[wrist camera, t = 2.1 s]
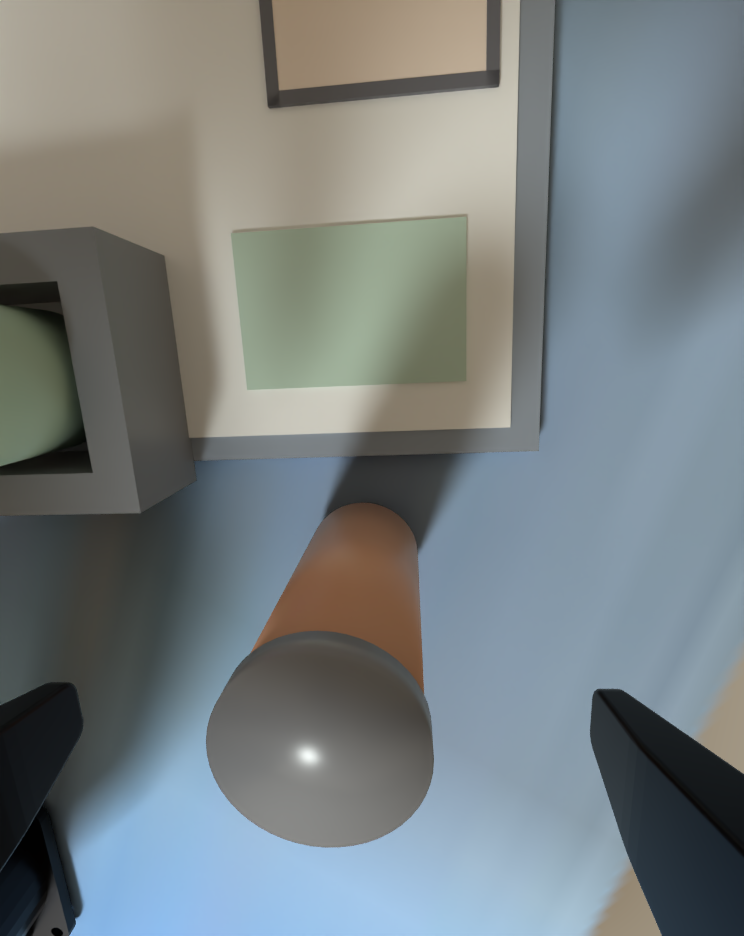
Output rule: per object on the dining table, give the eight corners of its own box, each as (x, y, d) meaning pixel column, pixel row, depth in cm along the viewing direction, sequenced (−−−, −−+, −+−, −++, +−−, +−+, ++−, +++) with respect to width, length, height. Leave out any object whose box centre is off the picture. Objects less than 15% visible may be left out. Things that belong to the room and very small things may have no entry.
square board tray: (532, 466, 14) (574, 504, 10) (18, 480, 15) (-99, 517, 12) (556, -236, 10) (633, -543, 7) (-120, -135, 12) (-349, -347, 8)
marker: (421, 595, 15) (435, 852, 7) (316, 595, 15) (220, 842, 7) (419, 492, 14) (432, 656, 6) (308, 494, 14) (191, 654, 7)
